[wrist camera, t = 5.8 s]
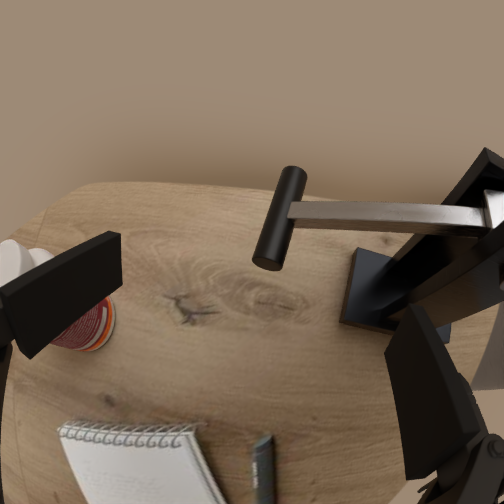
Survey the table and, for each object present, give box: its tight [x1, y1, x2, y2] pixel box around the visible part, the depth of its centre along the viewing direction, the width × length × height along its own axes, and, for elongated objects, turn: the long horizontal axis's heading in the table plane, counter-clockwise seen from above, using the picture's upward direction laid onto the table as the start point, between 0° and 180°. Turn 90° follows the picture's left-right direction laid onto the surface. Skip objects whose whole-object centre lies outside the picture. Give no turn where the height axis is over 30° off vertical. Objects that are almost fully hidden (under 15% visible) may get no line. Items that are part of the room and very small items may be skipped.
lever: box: [252, 166, 504, 271], centre depth 11 cm, size 14×6×2 cm, turn 72°
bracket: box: [339, 147, 504, 344], centre depth 13 cm, size 10×6×15 cm, turn 72°
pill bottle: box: [0, 240, 115, 351], centre depth 16 cm, size 6×6×11 cm
